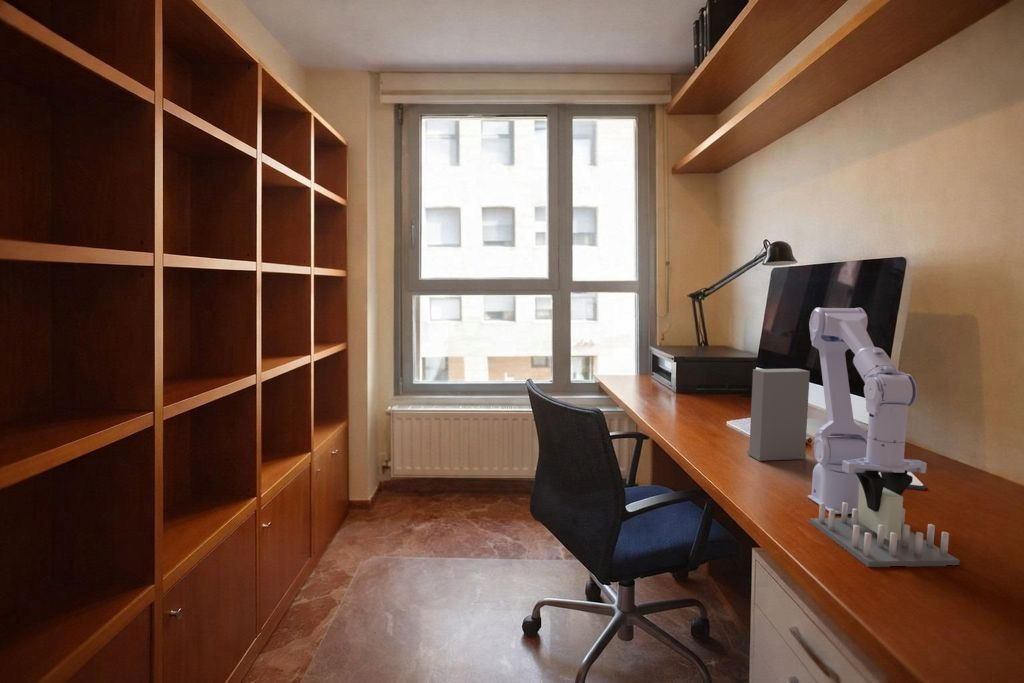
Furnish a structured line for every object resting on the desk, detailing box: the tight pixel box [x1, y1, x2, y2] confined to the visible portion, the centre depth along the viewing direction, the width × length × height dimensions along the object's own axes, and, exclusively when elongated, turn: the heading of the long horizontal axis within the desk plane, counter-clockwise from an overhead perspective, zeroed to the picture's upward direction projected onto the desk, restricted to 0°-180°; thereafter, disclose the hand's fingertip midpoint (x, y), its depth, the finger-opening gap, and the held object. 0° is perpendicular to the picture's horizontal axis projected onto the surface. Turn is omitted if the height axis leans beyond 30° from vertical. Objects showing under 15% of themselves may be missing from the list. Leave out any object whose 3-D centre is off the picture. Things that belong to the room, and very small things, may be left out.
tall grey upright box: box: [746, 368, 811, 462], centre depth 148 cm, size 14×6×25 cm, turn 97°
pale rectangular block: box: [858, 482, 904, 540], centre depth 99 cm, size 8×2×8 cm, turn 1°
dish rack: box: [809, 502, 960, 568], centre depth 99 cm, size 17×16×5 cm
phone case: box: [879, 472, 926, 491], centre depth 133 cm, size 9×2×16 cm
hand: (880, 509), depth 98 cm, fingers closed on pale rectangular block, 2 cm apart
